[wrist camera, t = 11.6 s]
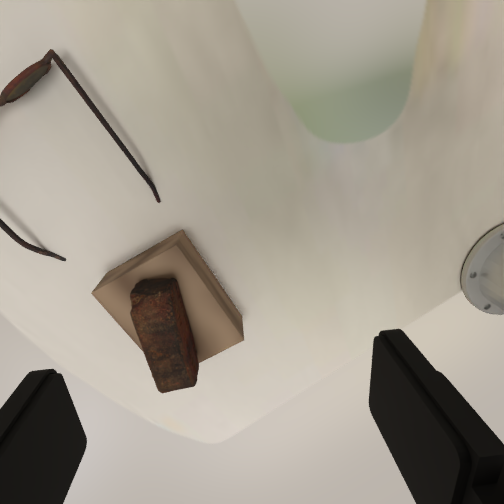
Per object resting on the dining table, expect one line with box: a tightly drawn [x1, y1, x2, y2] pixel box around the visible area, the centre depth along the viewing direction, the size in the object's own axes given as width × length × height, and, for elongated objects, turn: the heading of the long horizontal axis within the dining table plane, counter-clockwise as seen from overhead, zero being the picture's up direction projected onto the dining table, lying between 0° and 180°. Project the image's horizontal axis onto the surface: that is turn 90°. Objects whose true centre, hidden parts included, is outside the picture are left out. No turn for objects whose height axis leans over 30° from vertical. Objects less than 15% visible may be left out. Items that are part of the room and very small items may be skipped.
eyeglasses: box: [0, 49, 161, 261], centre depth 30 cm, size 15×15×5 cm
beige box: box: [91, 230, 244, 363], centre depth 36 cm, size 10×13×5 cm
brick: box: [130, 278, 199, 393], centre depth 32 cm, size 11×4×5 cm, turn 10°
